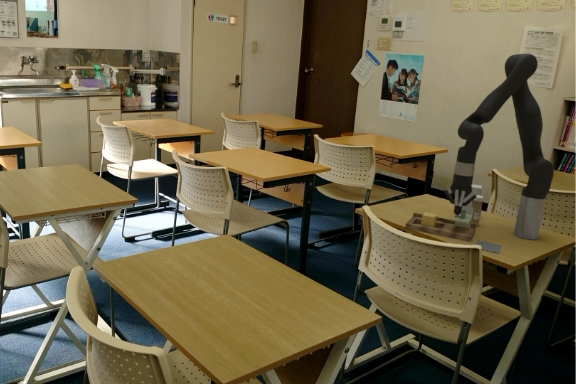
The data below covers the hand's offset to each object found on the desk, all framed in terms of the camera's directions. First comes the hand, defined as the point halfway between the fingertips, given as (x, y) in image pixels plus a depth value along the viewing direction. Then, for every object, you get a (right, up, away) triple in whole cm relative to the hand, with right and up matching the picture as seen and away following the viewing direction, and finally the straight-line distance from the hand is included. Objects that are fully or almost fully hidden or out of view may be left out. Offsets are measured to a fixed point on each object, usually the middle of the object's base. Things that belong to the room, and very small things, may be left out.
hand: (457, 214), depth 211 cm
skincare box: (+14, -2, +28) cm, 32 cm away
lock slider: (+2, -6, +1) cm, 6 cm away
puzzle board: (-6, -7, +4) cm, 10 cm away
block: (-10, -6, +5) cm, 13 cm away
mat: (+8, -12, -10) cm, 18 cm away
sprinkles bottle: (+12, -6, +15) cm, 20 cm away
